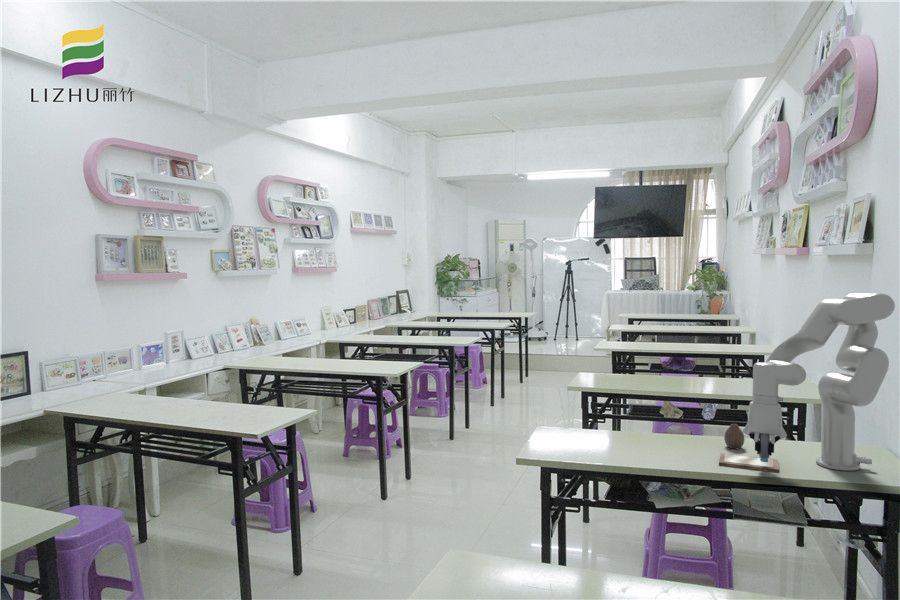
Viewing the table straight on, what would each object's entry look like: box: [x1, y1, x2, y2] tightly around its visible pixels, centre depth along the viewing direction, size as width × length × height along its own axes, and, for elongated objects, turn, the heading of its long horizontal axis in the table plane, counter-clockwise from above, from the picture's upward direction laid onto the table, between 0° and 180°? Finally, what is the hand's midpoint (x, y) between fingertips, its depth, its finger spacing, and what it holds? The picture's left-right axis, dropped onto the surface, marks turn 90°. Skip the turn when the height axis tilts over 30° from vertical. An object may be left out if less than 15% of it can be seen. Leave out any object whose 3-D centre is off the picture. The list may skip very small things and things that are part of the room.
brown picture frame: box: [718, 452, 780, 473], centre depth 201 cm, size 18×12×1 cm, turn 62°
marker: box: [758, 433, 771, 462], centre depth 194 cm, size 3×3×12 cm
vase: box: [723, 423, 745, 449], centre depth 221 cm, size 7×7×9 cm
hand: (764, 453), depth 195 cm, fingers closed on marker, 3 cm apart
